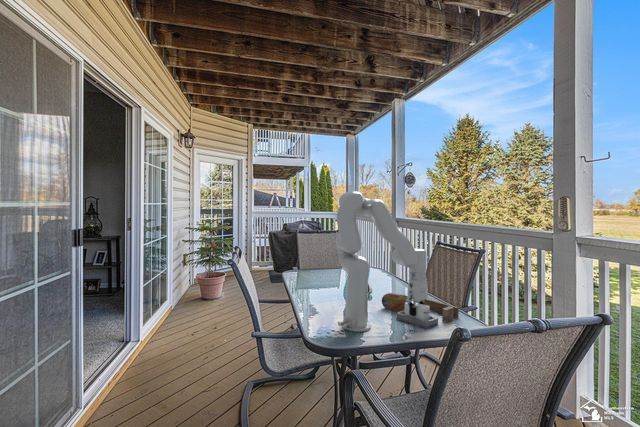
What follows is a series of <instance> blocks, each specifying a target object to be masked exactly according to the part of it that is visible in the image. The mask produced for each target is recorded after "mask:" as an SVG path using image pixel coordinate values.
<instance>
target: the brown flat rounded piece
mask: <svg viewBox="0 0 640 427" xmlns="http://www.w3.org/2000/svg"><path fill="white" fill-rule="evenodd" d="M407 297H408V295H406V294H399V293H393V292H389V293H386V294H384V295H383V296H382V297H381V304H382V306H383V308H385V310H387V311H394V312H401V311H404V310H405V303H407V302H406V299H407Z"/></svg>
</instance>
